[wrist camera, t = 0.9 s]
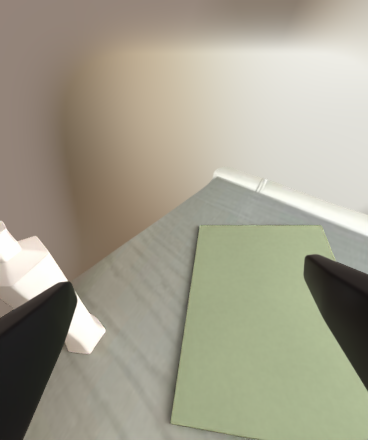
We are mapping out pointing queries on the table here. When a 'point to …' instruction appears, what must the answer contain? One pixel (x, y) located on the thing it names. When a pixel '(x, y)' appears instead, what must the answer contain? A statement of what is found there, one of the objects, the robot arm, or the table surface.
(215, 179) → the table surface
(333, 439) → the mat
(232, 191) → the table surface
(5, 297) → the perfume bottle
